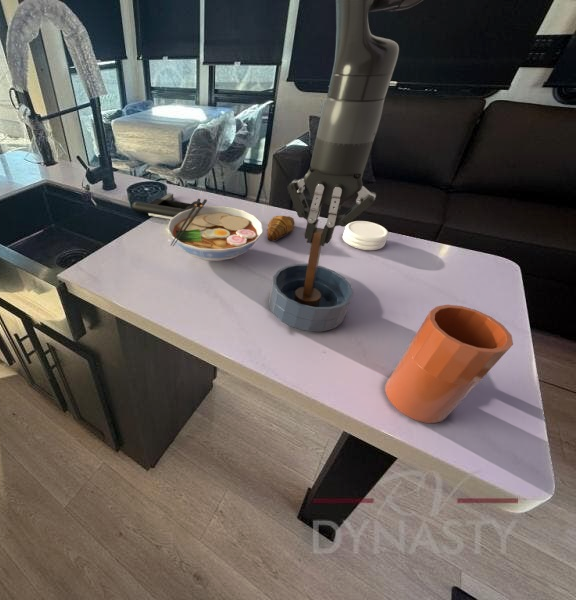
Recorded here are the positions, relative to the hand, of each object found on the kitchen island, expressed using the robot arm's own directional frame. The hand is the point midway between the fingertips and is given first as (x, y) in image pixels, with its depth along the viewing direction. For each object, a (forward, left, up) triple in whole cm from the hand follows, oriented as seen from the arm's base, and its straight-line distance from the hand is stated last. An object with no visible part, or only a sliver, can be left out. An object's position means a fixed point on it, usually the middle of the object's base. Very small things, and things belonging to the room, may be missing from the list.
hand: (316, 242), depth 57 cm
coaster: (-6, -34, -15) cm, 37 cm away
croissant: (+14, -28, -15) cm, 34 cm away
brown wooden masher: (-1, 0, -14) cm, 14 cm away
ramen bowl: (+25, -10, -15) cm, 30 cm away
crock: (-21, +12, -15) cm, 29 cm away
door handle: (+49, -26, -15) cm, 57 cm away
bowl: (-1, 0, -15) cm, 15 cm away
